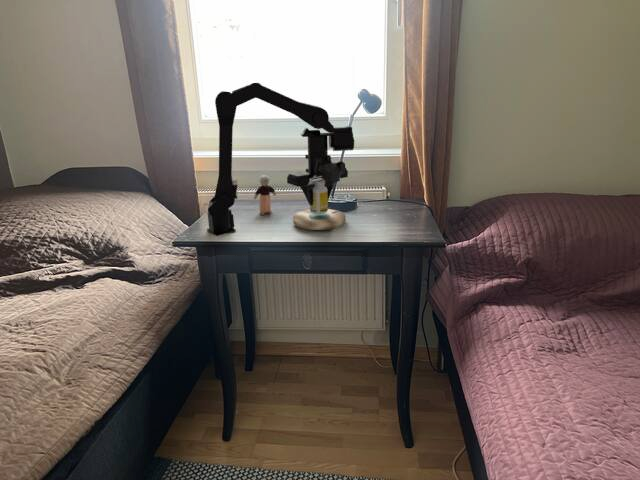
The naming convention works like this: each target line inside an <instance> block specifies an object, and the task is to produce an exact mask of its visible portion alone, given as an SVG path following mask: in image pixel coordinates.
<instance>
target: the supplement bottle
mask: <svg viewBox="0 0 640 480" xmlns="http://www.w3.org/2000/svg"><path fill="white" fill-rule="evenodd" d="M312 184H314V185H315V186H314V188H313V205H312V206H311V205H309V210H310V212H311V213H314V214H322V213H326V212H327V211H328V209H329V206H328V205H329V203H328V202H329V200H328V193H327V188H326V187H325V186H324V185H325V180H324V179H321V178H319V179H314V180H312Z"/></svg>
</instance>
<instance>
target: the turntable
mask: <svg viewBox="0 0 640 480" xmlns="http://www.w3.org/2000/svg"><path fill="white" fill-rule="evenodd" d="M346 217H347V216H346V213H344V212H342V211H340V210H336V209H331V208H328V211H327V212H326V213H322V214H314V213H311V212H310V209H306V210H301V211H298V212H296V213H295V214H293V215H292V221H293V224H294V225H295V227H298V228H302V229H306V230H312V231H314V230H315V231H316V230H317V231H321V230H322V231H323V230H330V229H331V230H332V229H335V228H338V227H339V228H340V227H342V226H343V225H344V224H345V223H346V221H347V220H346V219H347V218H346Z"/></svg>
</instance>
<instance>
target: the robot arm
mask: <svg viewBox="0 0 640 480" xmlns="http://www.w3.org/2000/svg"><path fill="white" fill-rule="evenodd" d="M253 99H258V100H261V101H263V102H264V103H265V102H266V103H268V104H270V105H272V106H274V107H276V108H279V109H281V110H284V112H285V111H286V112H288V113H290V114H292V115H294V116H296V117H297V118H299V119H300V120H302V121H303V122H305V123H306V124H307V125H309V126H310V127H312V128H314V129H309V128H308V127H304V129H303V131H302V132H300V136H301V137H302V138H307V154H305V155H304V156H305V159H307V164H308V165H307V167H308V168H306V169H305V173H303V172H299V171H298V172H293V173H292V172H291V173H289V174H288V175H287V176H286V177H287V178H286V183H287V184H289V185H291V186H296V187H300V189H301V191H302V192H303V194H304V196H305V198H306V201H307V203H308V205H309V206H310V205H311V206H312V205H313V188H314V186H315V185H314V184H312V180H314V179H324V180H325V185H324V186H325V187H326V188H327V193H328V201H329V200H330V196H331V193H332V191H333V188H334V186H335V185H336V184H337V183H338V182H340V180H341V179H344V178H348V175H349V174H348V173H349V172H348V170H347V169H348V168H347V167H346V163H345V162H344V161H343V160H342V161H338V162H333V161H332V157H331V155H329V153H328V149H329V148H330V149H332V151H333V152H342V151H353V150H354V147H355V138H354V133H353V127H352V126H348V125H347V126H342V127H341V126H340V127H337V126H336V127H334V125H333V124H332V123H331V121H329V120H330V119H329V114H328V112H327V110H326V109H324V108H322V107H320V106H318V105H313V104H310V103H306V102H301V101H298V100H295V99H293V98H290V97H289V96H286V95H284V94H282V93H281V92H280V93H279V92H278V91H275V90H274V89H271V88H269V87H267V86H264V85H262V84H261V83H260V82H258V81H252V82H250V83H249V84H247V85H245V86H241V87H239V88H237V89H234V90H227V89H225V90H222V91H220V92H219V93H218V94H217V95H216V96H215V100H214V103H215V104H214V105H215V110H216V116H217V121H218V126H219V129H218V131H219V135H218V141H219V142H218V143H219V144H218V178H217V184H216V187H215V192H214V195H213V197H211V199H210V200H209V203H208V207H207V213H206V215H207V221H208V228H207V229H206V231H207V232H208V233H211V235H214V236H223V235H226V234H231V233H235V232H236V231H237V230H236V228H235V220H234V214H233V213H232V210H231V209H230V208H231V207H233V206H234V204H235V202H236V201H235V200H237V199H238V184H239V183H238V180H237V179H235V180H234V179H233V174H232V173H233V171H232V170H233V166H232V165H233V133H234V132H233V130H234V129H233V126H234V123H235V116H236V113H237V112H236V111H237V107H238V106H241V105H243V104H245V103H247V102H249V101H252V100H253ZM320 129H322V130H324V131H326V132H321V130H320ZM328 147H329V148H328Z"/></svg>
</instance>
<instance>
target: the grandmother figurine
mask: <svg viewBox="0 0 640 480" xmlns="http://www.w3.org/2000/svg"><path fill="white" fill-rule="evenodd" d="M269 182H270V178H269V176H268V175H261V176H260V177H259V183H260V185H261V186H258V188H257V190H256V191H255V194H254V196H253V200H257V199H258V196H259V205H258V206H259V213H258V214H259V215H263V216H264V215H265V214H272V213H273V211H272V210H271V207H272V204H271V193H272V196H274V197H275V196H277V193H276V191H275V189H274V188H273V187H272V186H270V185H269Z"/></svg>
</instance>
